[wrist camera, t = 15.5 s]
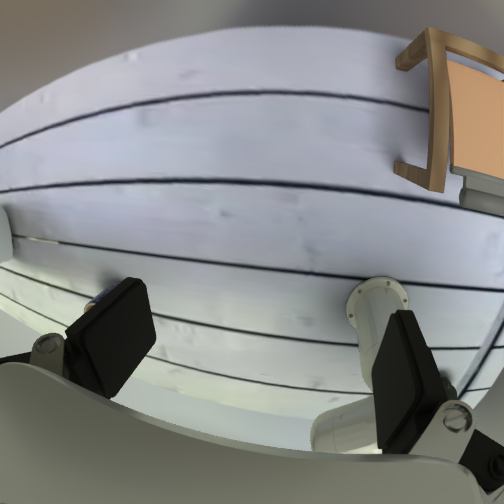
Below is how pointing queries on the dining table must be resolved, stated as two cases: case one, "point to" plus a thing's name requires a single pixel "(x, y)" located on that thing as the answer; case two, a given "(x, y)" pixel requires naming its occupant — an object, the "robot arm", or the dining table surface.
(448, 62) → the trapdoor
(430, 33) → the frame
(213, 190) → the dining table surface
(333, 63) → the dining table surface
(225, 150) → the dining table surface
